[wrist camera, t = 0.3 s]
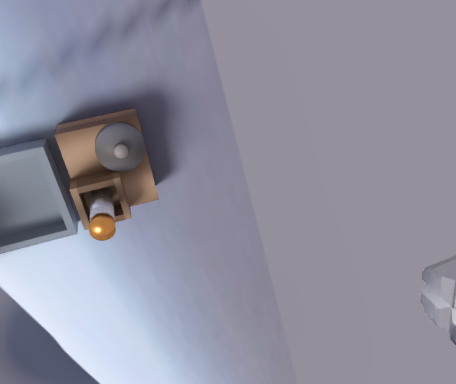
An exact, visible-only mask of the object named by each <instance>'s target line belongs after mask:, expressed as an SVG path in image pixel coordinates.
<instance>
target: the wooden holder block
mask: <svg viewBox="0 0 456 384" xmlns="http://www.w3.org/2000/svg"><path fill="white" fill-rule="evenodd" d="M55 138H56V140H57V143H58V146H59V149H60V151H61V154H62V157H63V159H64V162H65V165H66V167H67V170H68V173H69V175H70V178H71V182H70V192H71V195H72V198H73V200H74V203H75V206H76V208H77V211H78V213H79V216H80V219H81V221H82V224H83V227H84V229H85V230H87V229H90V192H91V191H92V190H96V189H100V188H104V187H108V186H109V187H110V188H111V189H112V192H113V204H114V217H115V222H118V221H122V220H125V219H129V218H132V217H131V211H130V207H131V206H134V205H138V204H142V203H146V202H150V201H154V200H158V195H157V191H156V187H155V183H154V179H153V175H152V171H151V167H150V163H149V159H148V155H147V151H146V147H145V142H144V139H143V135H142V131H141V127H140V123H139V119H138V115H137V112H136V109H135V108H134V109H129V110H124V111H119V112H114V113H110V114H105V115H100V116H95V117H91V118H86V119H81V120H76V121H71V122H67V123H62V124H57V127H56V131H55Z"/></svg>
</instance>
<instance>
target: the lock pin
mask: <svg viewBox="0 0 456 384" xmlns="http://www.w3.org/2000/svg"><path fill="white" fill-rule="evenodd" d="M115 230H116V229H115V217H114V204H113V192H112V189H111V188H110V187H109V186H108V187H104V188H100V189H96V190H92V191H91V192H90V229H89V231H90V235H91V236H92V237H93V238H94V239H96V240H101V241H103V240H108V239H110V238H111V237H112V236H113V235H114V234H115Z"/></svg>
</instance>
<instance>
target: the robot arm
mask: <svg viewBox="0 0 456 384" xmlns="http://www.w3.org/2000/svg"><path fill="white" fill-rule="evenodd" d="M422 280H423V281H424V282H425V283H426V285H425V286H424V287H423V289H422V290H421V303H422V305H423V308H424V311H425V312H426V314H427V315H428V317H429V318H430V319H431V320H432V321H433V322H434V323H435V325H437V326H438V327H441V328H444V329H447V330H449V335H450V340H451V341H452V342H453V343H454V344H455V345H456V255H455V256H452V257H450V258H448V259H445V260H443V261H440V262H438V263H436V264H433V265H431V266H428V267H426V268H425V269H424V270H423V272H422Z"/></svg>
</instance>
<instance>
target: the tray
mask: <svg viewBox="0 0 456 384" xmlns="http://www.w3.org/2000/svg"><path fill="white" fill-rule="evenodd" d="M77 229H78V221H77V218H76V216H75V213H74V210H73V208H72V205H71V203H70V200H69V197H68V195H67V192H66V190H65V187H64V184H63V182H62V179H61V177H60V174H59V171H58V169H57V166H56V164H55V161H54V158H53V156H52V153H51V151H50V148H49V145H48V143H47V140H46V138H43V139H38V140H34V141H29V142H24V143H20V144H15V145H10V146H6V147H1V148H0V254H1V253H5V252H9V251H13V250H17V249H20V248H24V247H28V246H32V245H36V244H40V243H43V242H47V241H51V240H55V239H59V238H63V237H66V236H70V235H74V234H77Z"/></svg>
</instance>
